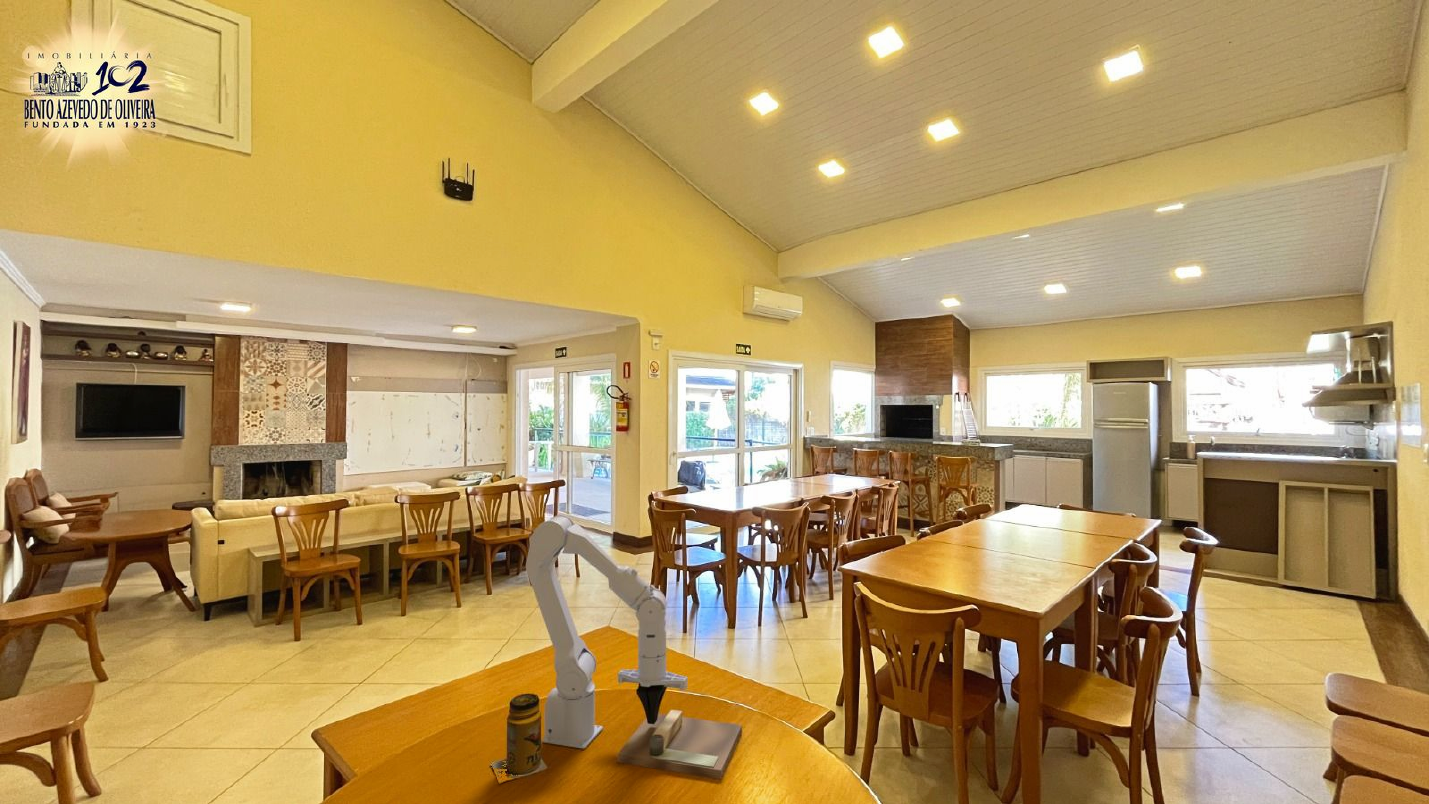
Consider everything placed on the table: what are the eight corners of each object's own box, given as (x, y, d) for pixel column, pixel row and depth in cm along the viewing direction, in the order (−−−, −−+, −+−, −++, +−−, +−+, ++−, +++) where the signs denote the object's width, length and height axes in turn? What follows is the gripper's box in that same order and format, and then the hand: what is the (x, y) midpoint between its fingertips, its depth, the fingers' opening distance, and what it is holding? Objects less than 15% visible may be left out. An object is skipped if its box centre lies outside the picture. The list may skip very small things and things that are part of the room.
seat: (617, 762, 103) (617, 752, 103) (650, 720, 118) (650, 711, 118) (721, 779, 97) (721, 769, 98) (742, 732, 113) (741, 724, 113)
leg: (660, 756, 101) (660, 743, 102) (647, 754, 102) (647, 741, 102) (682, 723, 113) (682, 711, 113) (670, 721, 114) (670, 709, 114)
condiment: (547, 769, 101) (548, 701, 102) (498, 785, 97) (499, 714, 97) (536, 750, 107) (536, 686, 108) (489, 765, 103) (491, 698, 103)
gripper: (611, 656, 112) (611, 726, 111) (679, 664, 108) (679, 736, 107) (626, 644, 118) (626, 710, 117) (690, 650, 114) (691, 718, 113)
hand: (652, 721), depth 112 cm, fingers closed
